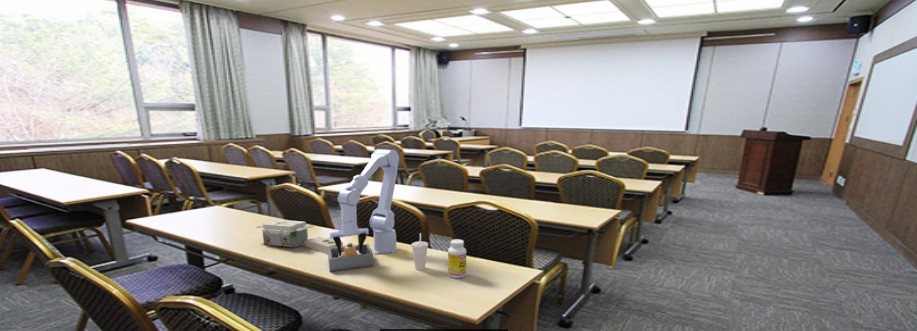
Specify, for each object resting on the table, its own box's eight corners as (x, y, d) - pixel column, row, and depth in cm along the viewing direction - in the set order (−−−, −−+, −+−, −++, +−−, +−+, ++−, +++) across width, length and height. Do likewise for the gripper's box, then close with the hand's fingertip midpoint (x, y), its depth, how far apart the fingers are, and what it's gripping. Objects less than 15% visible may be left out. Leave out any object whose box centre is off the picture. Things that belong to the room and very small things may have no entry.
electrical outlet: (319, 234, 174) (343, 242, 164) (319, 243, 175) (343, 251, 164) (304, 238, 169) (328, 246, 158) (305, 247, 169) (329, 255, 159)
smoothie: (415, 272, 140) (414, 236, 139) (409, 266, 146) (408, 231, 144) (431, 269, 143) (430, 233, 142) (424, 264, 149) (424, 229, 147)
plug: (356, 261, 149) (355, 244, 148) (345, 263, 147) (345, 246, 146) (354, 258, 152) (353, 241, 151) (344, 260, 150) (343, 243, 150)
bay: (368, 255, 158) (368, 243, 158) (373, 266, 146) (373, 254, 146) (328, 260, 152) (327, 248, 152) (329, 272, 140) (329, 259, 140)
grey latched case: (298, 250, 162) (296, 228, 161) (253, 245, 174) (251, 224, 173) (319, 242, 172) (317, 221, 171) (275, 238, 184) (273, 218, 183)
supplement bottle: (459, 280, 134) (460, 245, 132) (444, 276, 137) (444, 242, 136) (469, 273, 140) (469, 240, 138) (454, 270, 143) (454, 237, 142)
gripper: (365, 215, 154) (366, 247, 156) (328, 219, 147) (329, 253, 149) (369, 219, 148) (370, 253, 149) (330, 224, 141) (332, 259, 143)
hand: (350, 253), depth 149 cm, fingers open, 7 cm apart
